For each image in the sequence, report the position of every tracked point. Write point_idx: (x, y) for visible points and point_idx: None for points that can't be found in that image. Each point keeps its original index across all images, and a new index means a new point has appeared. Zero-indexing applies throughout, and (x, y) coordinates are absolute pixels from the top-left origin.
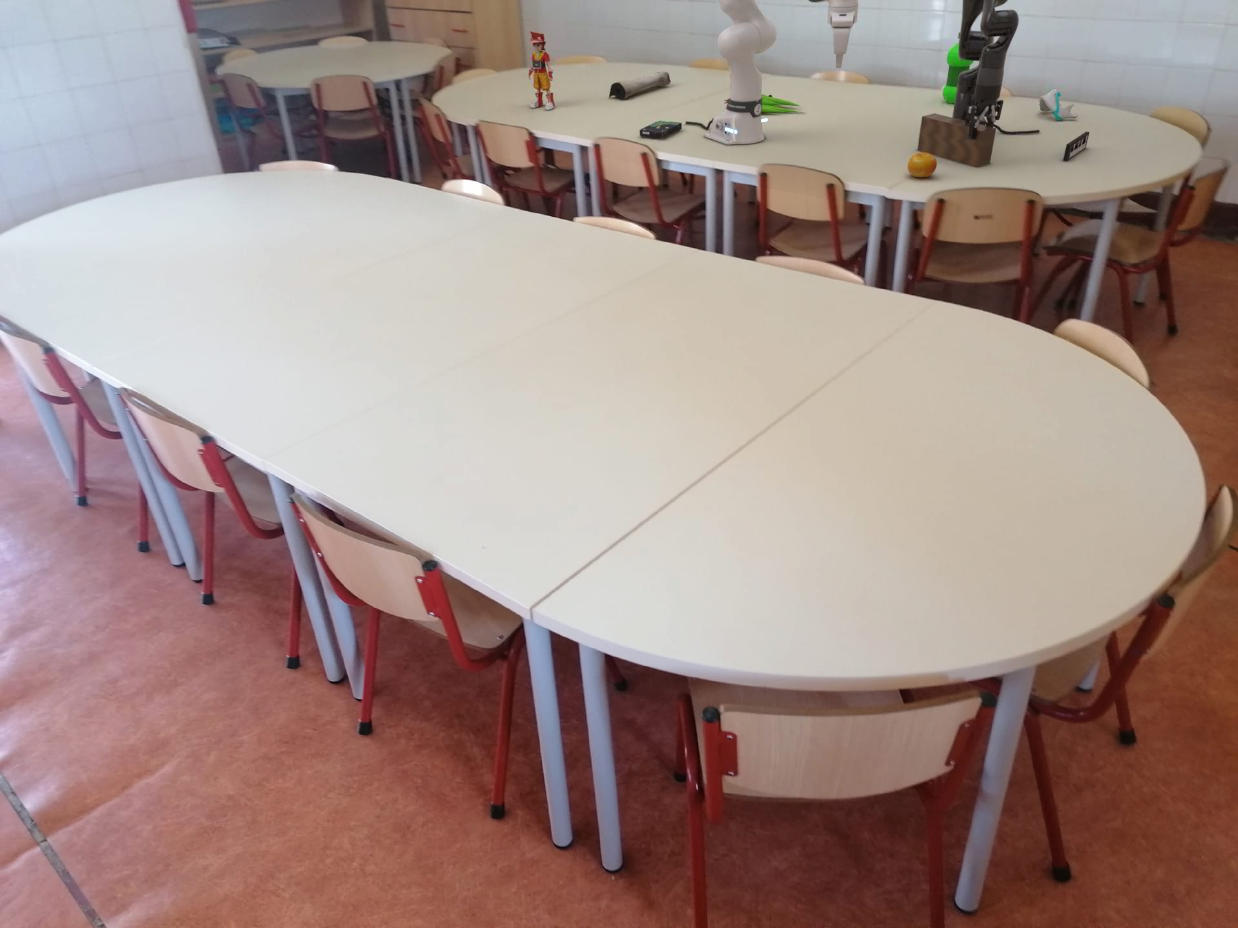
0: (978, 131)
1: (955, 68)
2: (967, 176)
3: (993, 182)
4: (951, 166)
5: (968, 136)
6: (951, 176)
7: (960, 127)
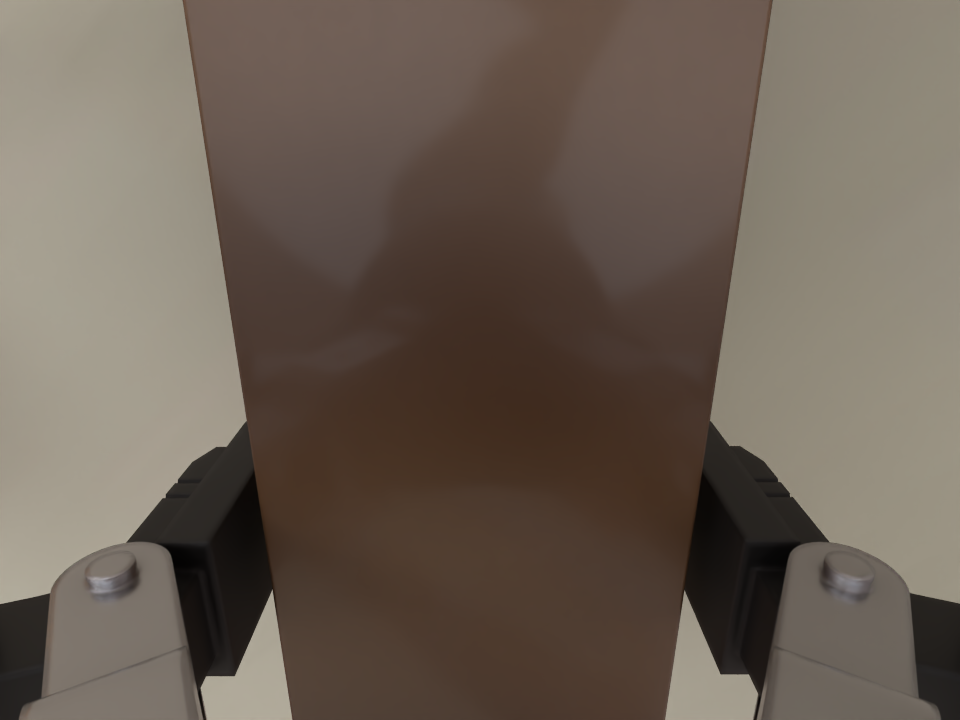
0: (285, 640)
1: None
2: (135, 530)
3: (212, 713)
4: (205, 240)
5: (202, 461)
6: (6, 453)
7: (219, 147)
